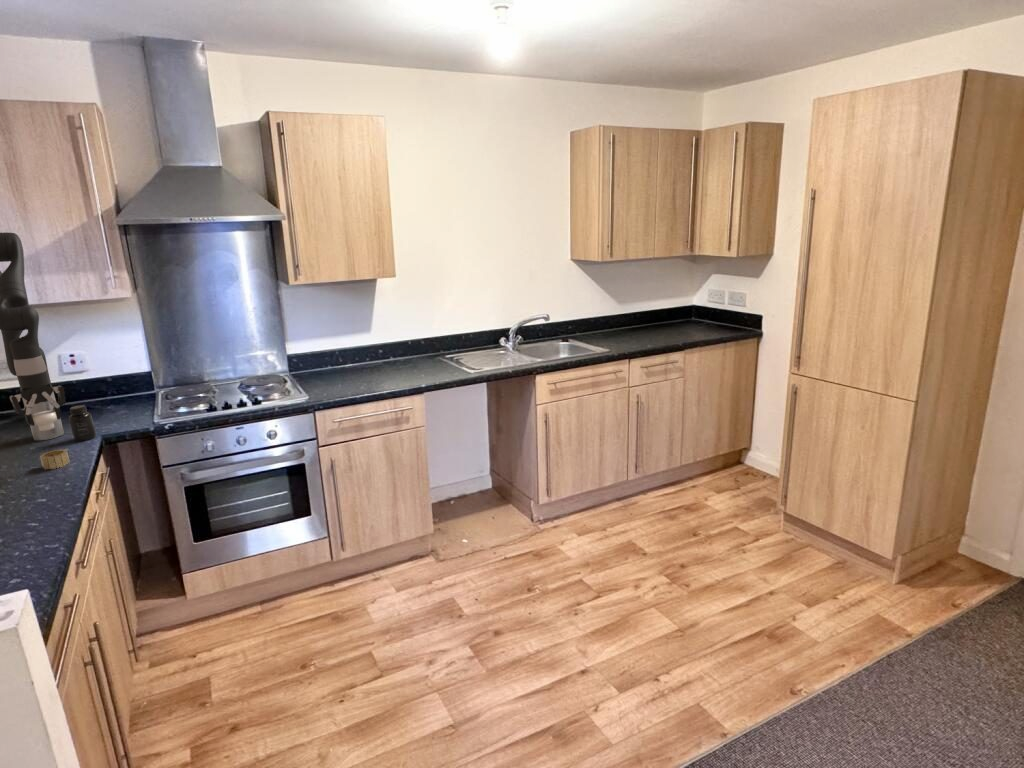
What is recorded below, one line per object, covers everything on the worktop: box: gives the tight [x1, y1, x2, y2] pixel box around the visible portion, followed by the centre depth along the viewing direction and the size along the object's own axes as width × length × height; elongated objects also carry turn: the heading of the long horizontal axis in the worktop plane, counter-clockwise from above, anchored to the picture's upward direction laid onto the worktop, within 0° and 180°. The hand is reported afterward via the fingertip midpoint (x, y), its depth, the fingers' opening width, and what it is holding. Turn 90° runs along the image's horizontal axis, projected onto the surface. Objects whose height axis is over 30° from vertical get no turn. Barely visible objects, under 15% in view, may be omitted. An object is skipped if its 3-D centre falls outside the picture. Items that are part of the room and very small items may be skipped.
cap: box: [32, 411, 57, 431], centre depth 196 cm, size 6×6×5 cm
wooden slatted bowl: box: [39, 448, 71, 470], centre depth 199 cm, size 7×7×4 cm
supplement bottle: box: [68, 404, 97, 442], centre depth 222 cm, size 7×7×12 cm
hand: (45, 422), depth 196 cm, fingers closed on cap, 6 cm apart
